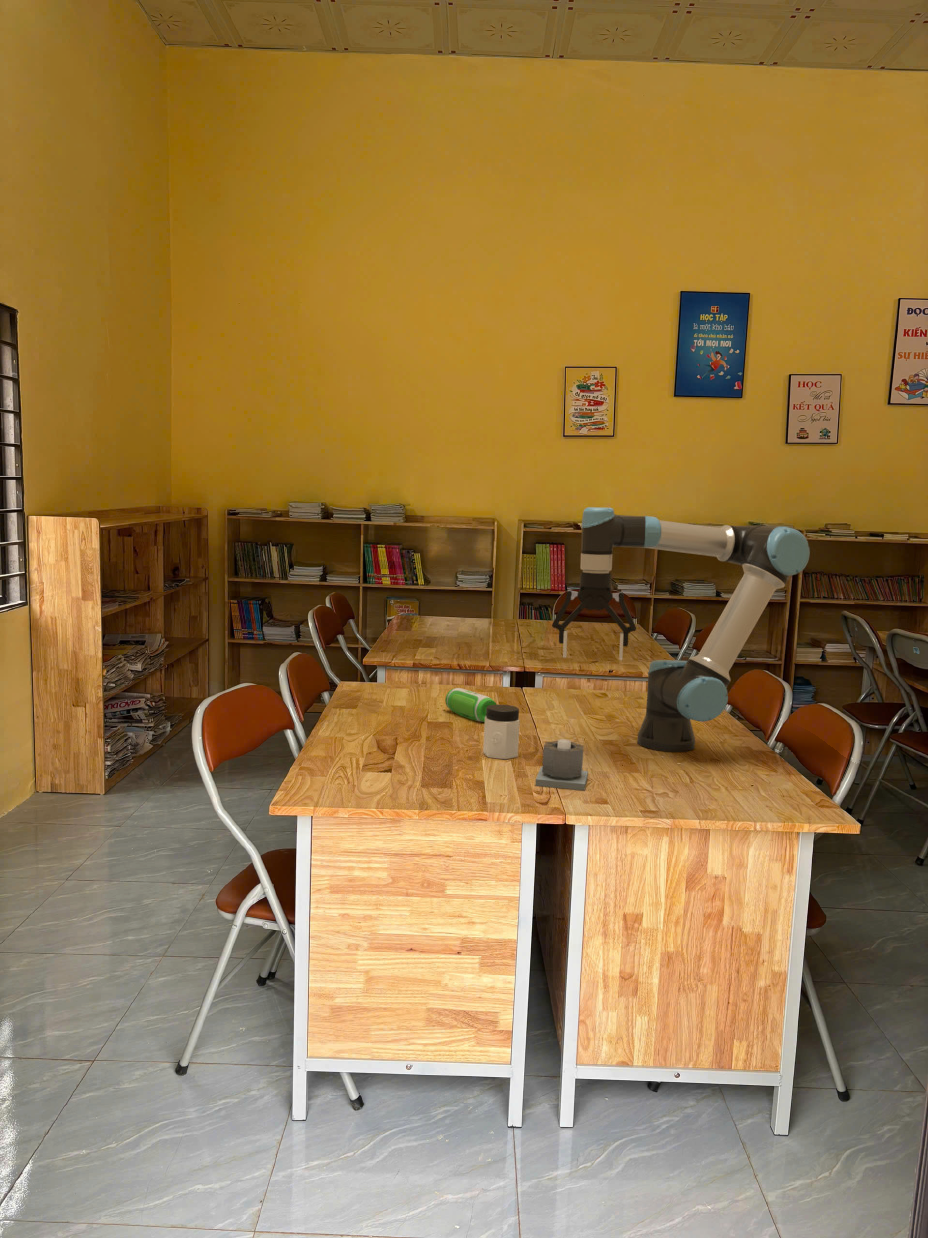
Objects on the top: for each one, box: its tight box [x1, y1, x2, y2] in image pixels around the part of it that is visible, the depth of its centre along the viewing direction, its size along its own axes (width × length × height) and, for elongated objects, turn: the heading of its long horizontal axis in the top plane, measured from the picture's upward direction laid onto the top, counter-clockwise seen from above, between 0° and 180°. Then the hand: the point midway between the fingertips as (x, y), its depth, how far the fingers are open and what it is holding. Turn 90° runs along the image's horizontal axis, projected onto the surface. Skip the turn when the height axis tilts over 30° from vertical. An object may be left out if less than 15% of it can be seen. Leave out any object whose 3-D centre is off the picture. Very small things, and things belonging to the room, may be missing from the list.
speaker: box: [445, 687, 498, 723], centre depth 286 cm, size 18×7×8 cm, turn 35°
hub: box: [541, 740, 585, 778], centre depth 224 cm, size 9×9×6 cm
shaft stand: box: [534, 738, 589, 791], centre depth 224 cm, size 11×11×10 cm
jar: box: [482, 704, 521, 760], centre depth 245 cm, size 9×8×12 cm
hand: (592, 658), depth 240 cm, fingers open, 13 cm apart
